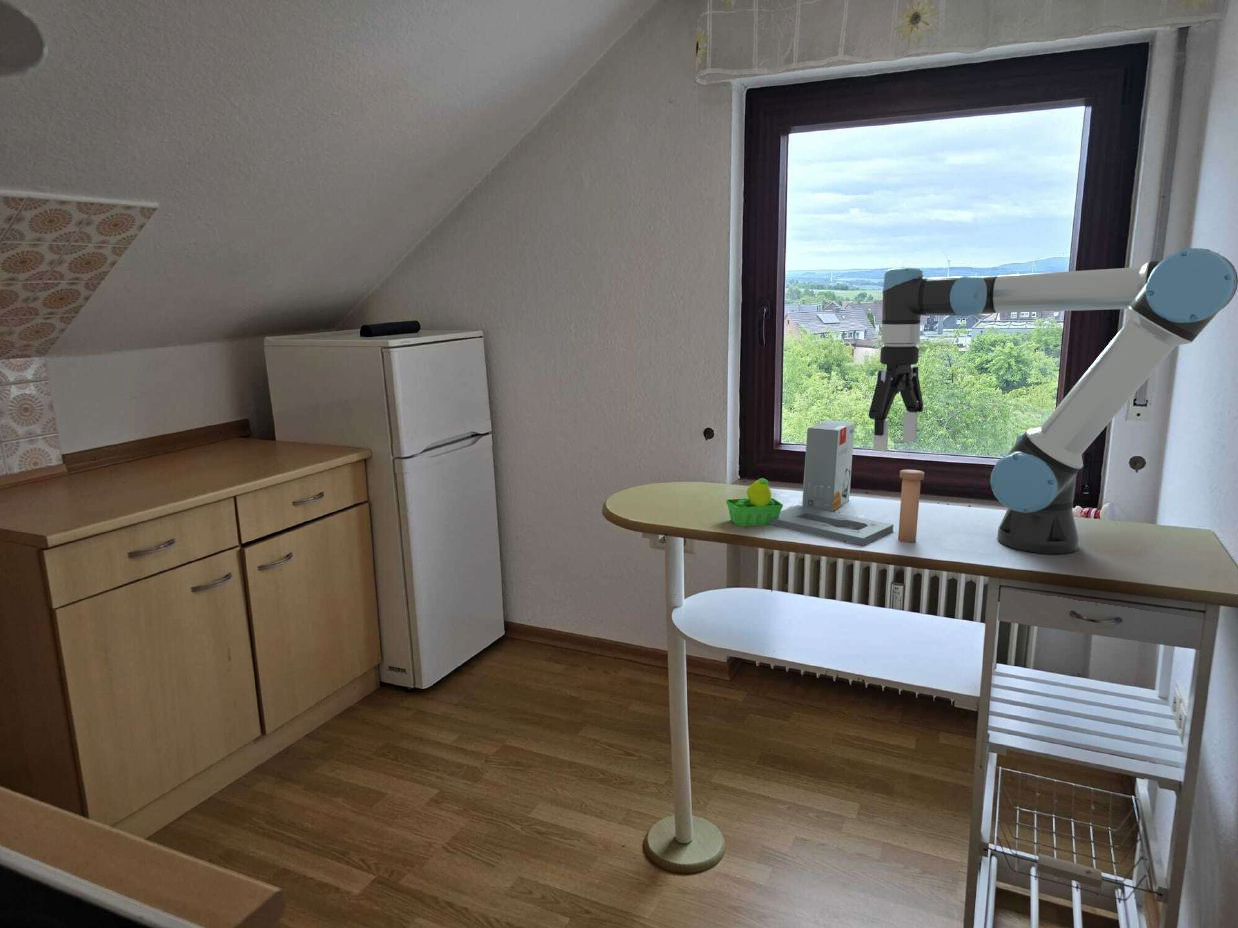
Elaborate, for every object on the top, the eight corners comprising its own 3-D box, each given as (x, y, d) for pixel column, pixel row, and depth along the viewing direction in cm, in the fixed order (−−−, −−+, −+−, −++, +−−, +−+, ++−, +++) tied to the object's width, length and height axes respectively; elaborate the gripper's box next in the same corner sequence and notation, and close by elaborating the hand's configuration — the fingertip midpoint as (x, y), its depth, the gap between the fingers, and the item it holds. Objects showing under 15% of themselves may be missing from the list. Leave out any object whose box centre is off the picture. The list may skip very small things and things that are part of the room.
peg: (922, 539, 178) (928, 472, 175) (913, 544, 175) (918, 475, 172) (901, 535, 181) (906, 468, 178) (891, 539, 178) (896, 472, 175)
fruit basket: (769, 517, 196) (771, 470, 194) (786, 528, 188) (788, 479, 186) (723, 520, 194) (725, 473, 191) (738, 531, 185) (740, 481, 183)
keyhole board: (893, 530, 184) (893, 524, 184) (862, 545, 174) (863, 538, 174) (797, 511, 200) (797, 505, 200) (764, 523, 190) (765, 516, 190)
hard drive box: (832, 513, 198) (837, 430, 194) (801, 509, 202) (805, 427, 198) (850, 499, 211) (855, 421, 207) (820, 495, 215) (824, 418, 211)
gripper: (909, 341, 184) (904, 436, 189) (853, 347, 167) (849, 452, 171) (942, 342, 179) (937, 440, 183) (889, 348, 162) (884, 456, 166)
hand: (895, 446), depth 177 cm, fingers open, 13 cm apart
